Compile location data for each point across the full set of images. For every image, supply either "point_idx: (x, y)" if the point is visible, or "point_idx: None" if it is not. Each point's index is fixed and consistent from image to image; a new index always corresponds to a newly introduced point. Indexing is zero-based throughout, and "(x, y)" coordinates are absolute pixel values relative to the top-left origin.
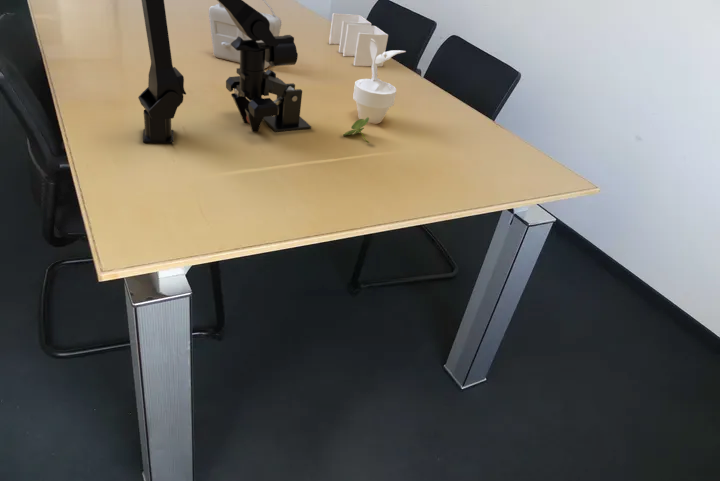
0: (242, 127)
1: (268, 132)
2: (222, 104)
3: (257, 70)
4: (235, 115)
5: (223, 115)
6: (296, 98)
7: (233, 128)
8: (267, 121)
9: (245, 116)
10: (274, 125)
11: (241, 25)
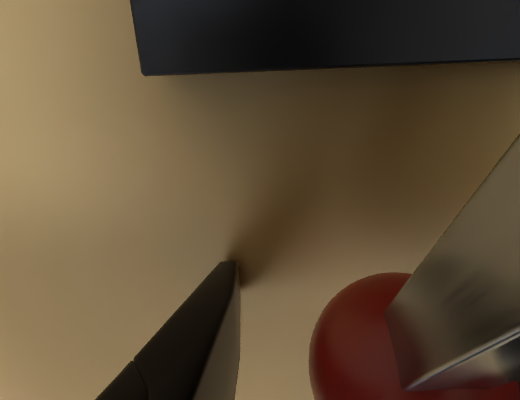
0: (295, 329)
1: (496, 123)
2: None
3: None
4: (6, 307)
5: (21, 392)
6: None
7: (299, 394)
8: (333, 66)
9: (230, 364)
10: (511, 3)
11: None
